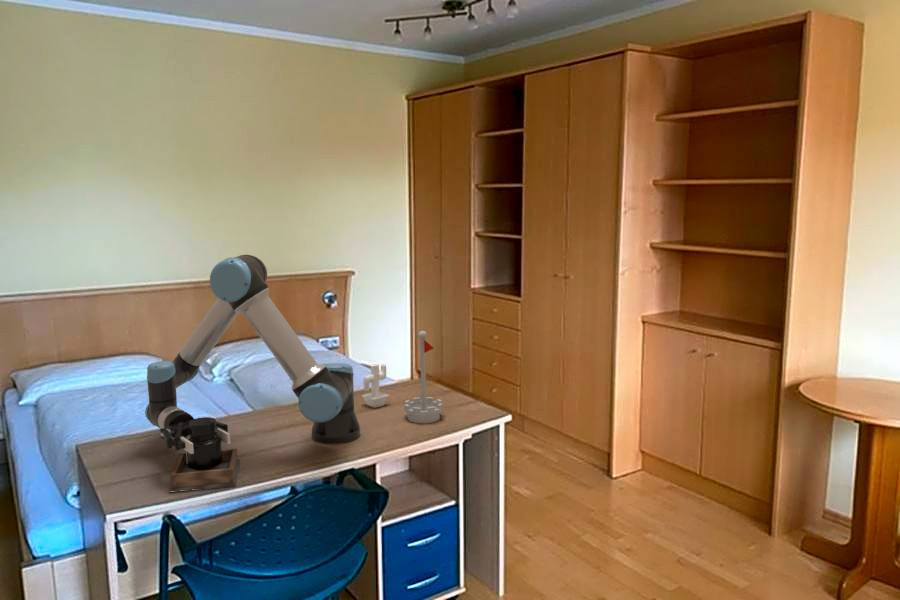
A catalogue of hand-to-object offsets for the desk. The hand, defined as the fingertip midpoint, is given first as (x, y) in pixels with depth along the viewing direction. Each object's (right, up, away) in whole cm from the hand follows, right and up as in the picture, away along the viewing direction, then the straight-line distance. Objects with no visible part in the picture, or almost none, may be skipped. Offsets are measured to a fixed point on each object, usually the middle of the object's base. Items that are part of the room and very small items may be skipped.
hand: (210, 443), depth 174 cm
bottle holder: (-3, -10, +5) cm, 11 cm away
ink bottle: (-3, -7, +4) cm, 8 cm away
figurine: (+36, 0, +66) cm, 75 cm away
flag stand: (+54, -3, +52) cm, 75 cm away
